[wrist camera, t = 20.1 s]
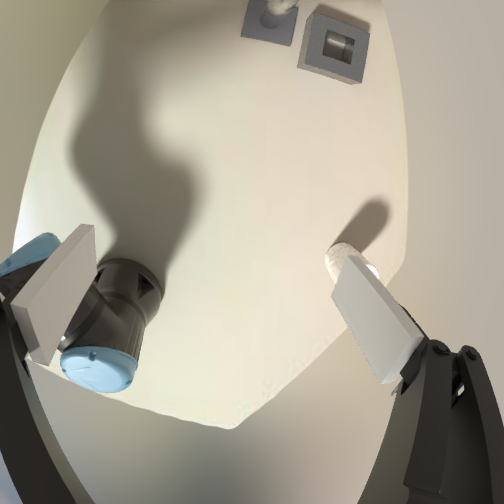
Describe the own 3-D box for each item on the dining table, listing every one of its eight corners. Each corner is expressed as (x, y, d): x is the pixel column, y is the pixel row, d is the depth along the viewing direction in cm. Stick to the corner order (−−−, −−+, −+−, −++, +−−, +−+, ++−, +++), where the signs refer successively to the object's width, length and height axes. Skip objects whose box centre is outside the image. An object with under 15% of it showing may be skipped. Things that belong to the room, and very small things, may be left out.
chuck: (296, 67, 39) (304, 63, 35) (306, 19, 34) (314, 12, 31) (350, 84, 41) (361, 83, 37) (359, 37, 36) (370, 33, 33)
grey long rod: (257, 26, 34) (279, -15, 19) (261, 10, 33) (284, -35, 18) (278, 30, 35) (310, -7, 20) (282, 14, 33) (314, -27, 19)
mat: (240, 36, 35) (241, 35, 35) (250, -2, 32) (250, -3, 31) (289, 46, 37) (289, 45, 36) (297, 9, 33) (298, 8, 33)
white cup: (336, 232, 54) (359, 257, 45) (363, 249, 56) (386, 274, 47) (314, 264, 56) (331, 293, 47) (341, 278, 59) (360, 307, 50)
